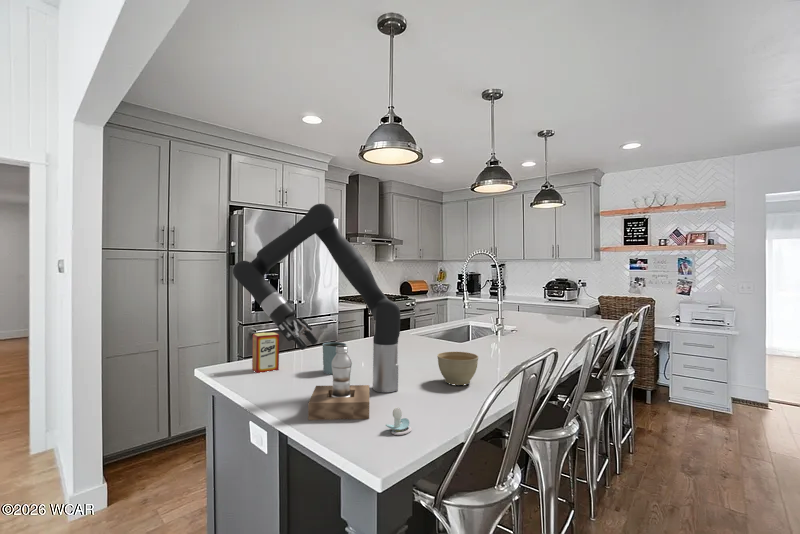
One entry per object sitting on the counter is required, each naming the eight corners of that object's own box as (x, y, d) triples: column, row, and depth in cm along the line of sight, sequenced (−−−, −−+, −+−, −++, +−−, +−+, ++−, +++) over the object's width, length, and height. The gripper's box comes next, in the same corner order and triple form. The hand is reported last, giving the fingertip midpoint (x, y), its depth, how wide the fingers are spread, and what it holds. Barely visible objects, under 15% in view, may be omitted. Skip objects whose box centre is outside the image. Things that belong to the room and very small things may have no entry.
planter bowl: (476, 377, 163) (476, 351, 163) (480, 389, 147) (480, 360, 147) (437, 376, 164) (437, 350, 164) (436, 388, 148) (437, 359, 148)
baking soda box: (274, 366, 176) (274, 331, 176) (278, 370, 171) (279, 333, 171) (252, 369, 171) (252, 333, 171) (256, 373, 165) (256, 335, 166)
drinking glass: (321, 369, 173) (321, 342, 173) (343, 368, 176) (344, 341, 176) (323, 375, 163) (324, 346, 163) (347, 374, 166) (348, 345, 166)
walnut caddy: (369, 399, 134) (369, 385, 134) (369, 418, 117) (369, 402, 117) (315, 400, 133) (316, 385, 133) (308, 419, 116) (308, 403, 116)
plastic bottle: (341, 404, 130) (342, 343, 130) (355, 408, 125) (356, 346, 125) (326, 409, 125) (326, 346, 125) (340, 414, 120) (341, 349, 120)
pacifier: (416, 431, 109) (401, 424, 114) (417, 409, 109) (402, 403, 113) (396, 439, 104) (382, 431, 109) (397, 415, 104) (383, 408, 109)
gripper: (275, 303, 122) (309, 341, 119) (295, 299, 136) (326, 334, 134) (259, 319, 123) (292, 358, 120) (280, 314, 137) (311, 348, 134)
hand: (310, 345), depth 127 cm, fingers open, 8 cm apart
